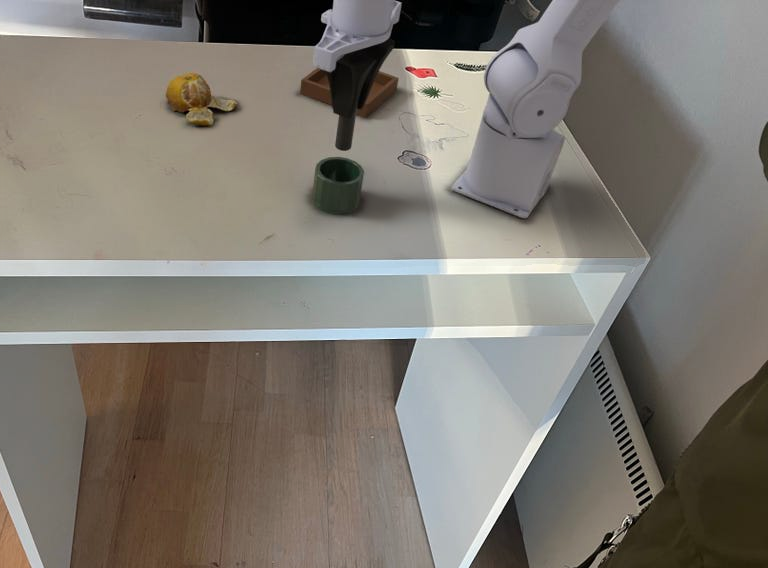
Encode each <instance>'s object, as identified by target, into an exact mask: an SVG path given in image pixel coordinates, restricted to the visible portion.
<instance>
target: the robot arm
mask: <svg viewBox="0 0 768 568" xmlns="http://www.w3.org/2000/svg"><path fill="white" fill-rule="evenodd" d="M619 2H620V0H552V1H551V2H550V4H549V5H548V7H547V8H546V10H545V11H544V12H543V14H542V16H541V17H540V19H539V20H538V21H537V22H535V23H532V24H529V25H527V26H523V27H522V28H519V29H518V30H517V31H516V33H515V34H514V36H513V38H512V39H511V40H510V41H509V42H508V43H507V44H506V46H504V47H502V48H501V49H499V50H498V51H497V52H496V53H494V54H493V56H492V57H491V58H490V59H489V61H488V63H487V64H486V67H485V69H484V73H483V83H484V86H485V87H484V88H485V89H486V90H487V92H488V96H487V100H486V105H485V106H484V109H483V112H482V116H481V120H480V123H479V127H478V130H477V134H476V137H475V140H474V144H473V147H472V152H471V155H470V158H469V162H468V165H467V168H466V169H465V170H464V171H463V172H462V173H461V175H460V176H459V177H458V178H457V180H456V181H454V183H453V184H452V186H451V190H452V191H453V192H455V193H458V194H460V195H463V196H465V197H468V198H471V199H473V200H476V201H477V202H480V203H483V204H486V205H488V206H491V207H493V208H496V209H498V210H502V211H503V212H505V213H508V214H511V215H514V216H516V217H518V218H521V219H527V218H528V217H529V216H530V215H531V213H532V211H533V210H534V209H535V207H536V206H537V204H538V203H539V201H540V200H541V199H542V197H544V196H545V194H546V192H547V190H548V187H549V185H550V181H551V178H552V175H553V173H554V170H555V168H556V165H557V163H558V160H559V157H560V156H561V153H562V150H563V147H564V143H565V140H566V137H565V135H563V134H561V133H559V132H558V131H557V130H554V129H555V128H557V127H558V125H560V124H561V123H562V121H563V120H564V118H565V117H566V115H567V113H568V110H569V106H570V102H571V99H572V96H573V95H574V93H575V92H576V90H577V89H578V87H579V86H580V85H581V83H582V70H583V69H582V68H583V67H582V66H583V65H582V64H583V52H584V50H585V49H586V48H587V46H588V45H589V43H590V42H591V40H592V39H593V38H594V36H595V35H596V34H597V32H598V31H599V30H600V28H601V27H602V25H603V24H604V23H605V21H606V20H607V19H608V17H609V16H610V14H611V13H612V12H613V10H614V9H615V7H616V6H617V4H618V3H619ZM402 3H403V2H400V1H397V0H333V3H332V9H331V8H330V9H328V10H326V11H325V12H323V13H322V14H321V16H320V17H321V18H320V21H321V23H323V24H326V27H325V30H324V32H323V35H322V37H321V39H320V41H319V42H318V43H317V44H316V45H314V49H313V57H312V67H315V68H316V69H317V68H319V69H322V70H325V72H326V74H327V78H328V81H329V86H330V92H331V100H332V105H331V106H332V112H333V114H335V115H338V116H339V115H340V116H343V117H345V118H348V119H350V118H351V117H352V116H353V114H354V112H355V110H356V107H357V109H360V110H361V109H362V108H363V106H364V105H365V102H366V100H367V98H368V95H369V93H370V90H371V88H372V85H373V83H374V80H375V78H376V76H377V74H378V72H379V71H380V69H381V68H382V66H383V64H384V63H385V61H386V60H387V58H388V57H389V55H390V54H391V53H392V51H393V50H394V48H395V43H396V42H395V40H394V39H393V38H391V34H392V30H393V26H394V25H396V24H397V23H398V22H400V15H401V10H402ZM357 104H358V105H357Z"/></svg>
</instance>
